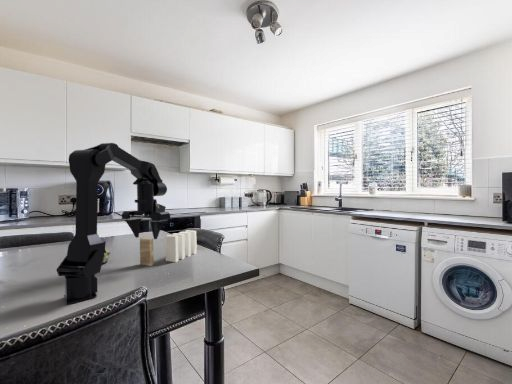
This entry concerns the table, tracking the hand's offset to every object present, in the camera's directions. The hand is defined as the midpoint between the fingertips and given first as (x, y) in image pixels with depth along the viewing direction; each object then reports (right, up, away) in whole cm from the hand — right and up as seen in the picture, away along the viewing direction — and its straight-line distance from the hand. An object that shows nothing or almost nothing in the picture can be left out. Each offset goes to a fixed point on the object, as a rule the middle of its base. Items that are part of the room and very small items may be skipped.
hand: (146, 238), depth 95 cm
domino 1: (0, -10, 0) cm, 10 cm away
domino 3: (+10, -10, +9) cm, 16 cm away
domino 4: (+11, -10, +12) cm, 19 cm away
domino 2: (+8, -10, +5) cm, 14 cm away
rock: (-21, -11, +1) cm, 24 cm away
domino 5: (+13, -10, +16) cm, 23 cm away
